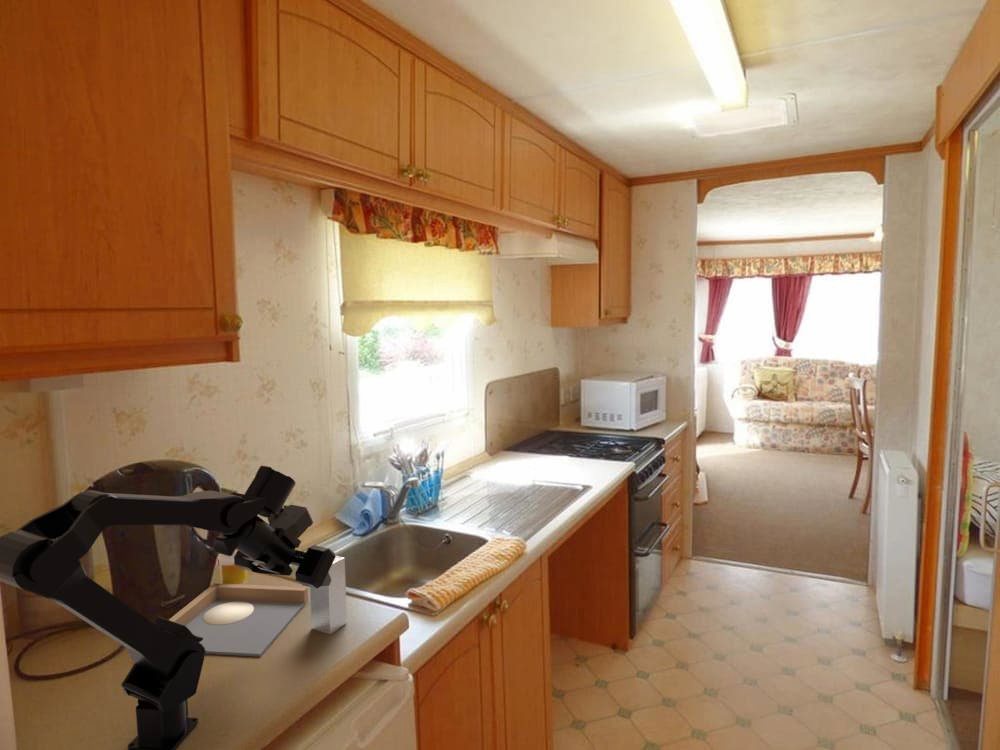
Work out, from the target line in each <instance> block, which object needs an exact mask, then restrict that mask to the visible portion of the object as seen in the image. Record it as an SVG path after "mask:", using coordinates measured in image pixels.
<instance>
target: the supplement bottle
mask: <svg viewBox="0 0 1000 750" xmlns="http://www.w3.org/2000/svg"><path fill="white" fill-rule="evenodd" d="M237 551H238V550H237V549H235V551H234V553H233V555H232V556H227V555H223V554H221V555H220V556H219V559H218V569H219V584H242V585H249V583H248V581H249V580H248V570H245V569H241V568H239V567H238V566H236V565H235V564H234V556H235V555H236V553H237Z"/></svg>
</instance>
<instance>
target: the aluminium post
mask: <svg viewBox="0 0 1000 750" xmlns="http://www.w3.org/2000/svg"><path fill="white" fill-rule="evenodd" d="M335 556H336V557H335V559H334V562H333V564H332V566H331V568H330V570H329V575H330V577H331V583H330V585H329V586H321V587H319V588H318V589H316V588H312V587H309V589H310V590H309V591H310V614H311V615H310V616H311V630H314V629H315V630H314V631H317V630H318V631H317V632H320V631H321V633H324V634H327V635H332V634H334V633H335V632H336V631H338V630H340V629H341V628H342V627H343V626H345V625H346V624H347V623H348V621H347V616H348V615H347V594H346V593H347V591H346V590H347V589H346V562H345V561H346V559H345V557H343V556H339V555H335ZM340 627H341V628H340Z"/></svg>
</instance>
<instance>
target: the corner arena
mask: <svg viewBox="0 0 1000 750" xmlns="http://www.w3.org/2000/svg"><path fill="white" fill-rule="evenodd" d="M308 593H309V591H308V586H284V585H282V586H281V585H264V584H263V585H261V584H248V585H242V584H220V582H219V583H217V582H216V583H213V584H211V585H210V586H209V587H208V588H207V589H205V590H204V591H202V593H200V594H199V595H198V596H196V597H195V598H194V599H193V600H191V601H190V602H189V603H188V604H187V605H186V606H184V607H183V608H182V609H180V610H179V611H178V612H177V613H175V614H174V615H173V616H172V617H170V618H169V619H168V620H170V621H173V622H176V623H179V624H181V625H184V626H186V627H187V628H188V629H189V630H190V631H191V633H192V634H193V635H196V636H199V637H202V638H203V640H202V641H201V642H199V643H201V644H202V645H203V646H204V648H205V650H206V652H205V654H204V655H221V656H222V655H223V656H239V657H240V656H241V657H260V658H261V657H262V656H263V655H264V654H265V653H266V651H267V650H268V649H269V648H270V647H271V645H272V644H273V643H274V642H275V641H276V639H277V638H278V637H279V636H280V635H281V633H282V632H283V631H284V630H285V629H286V628H287V627H288V625H289V624H290V623H291V622H292V621H293V620H294V618H295V617H296V616H297V614H299V613H300V612H301V610H302V609H303V608H304V607H303V606H306V605H307V603H308V602H307V601H309V596H308V595H309V594H308ZM306 602H307V603H306ZM302 607H303V608H302ZM301 608H302V609H301Z"/></svg>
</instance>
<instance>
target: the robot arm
mask: <svg viewBox="0 0 1000 750" xmlns="http://www.w3.org/2000/svg"><path fill="white" fill-rule="evenodd" d="M295 486H296V481H295V480H294V478H293V477H291V476H289V475H285V473H282V472H281V471H278V470H275V469H273V468H272V467H271V466H267V465H260V466H259V468H258V469H257V471H256V474H255V476H254V477H253V479H252V481H251V483H250V484H249V486H248V487H247V489H246V491H245V492H244V494H243V493H238V492H227V493H224V492H220V491H215V490H203V491H195V492H190V493H188V494H184V495H180V496H179V495H178V496H168V495H152V494H151V495H149V494H134V493H133V494H129V493H115V492H114V493H113V492H102V491H98V490H93V489H92V490H91V489H90V490H89V489H88V490H84V491H82V492H79V493H77V494H75V495H74V496H73V497H71V498H70V499H69V500H67V501H66V502H64V503H63V504H61V505H59V506H57V507H55V508H53V509H51V510H49V511H46V512H45V513H42V514H41V515H38V516H36V517H34V518H32V519H30V520H29V521H27V522H26V523H25V524H23V525H22V526H20V527H18V529H17V530H13V531H10V532H8V533H7V532H6V533H5V534H3V535H1V536H0V582H2V583H4V584H7V585H10V586H13V587H15V588H18V589H20V590H23V591H26V592H29V593H32V594H33V595H37V596H40V597H42V598H45V599H48V600H51V601H53V602H54V603H56V604H58V606H60V607H62V608H64V609H66V611H69V612H70V613H72V614H73V615H74V616H76V617H78V618H79V619H81V620H82V621H84V622H85V623H87V624H88V625H90V626H92V627H94V628H95V629H96V630H98V631H100V632H101V633H102V634H104V635H105V636H107V637H109V639H112V640H114V642H117V643H118V644H120V645H122V647H124V648H125V649H126V650H127V652H128V654H129V657H130V659H131V660H132V661H133V665H132V667H131V669H130V670H129V672H127V675H126V676H125V678H124V679H123V681H122V682H121V688H122V690H123V691H124V694H125V695H126V696H129V697H130V696H131V697H133V698H135V699H137V705H136V706H135V717H136V718H135V720H136V733H137V734H136V735H137V736H135V737H134V738H133V739H132V740H131V741H130V743H128V744H127V750H175V749H177V747H179V745H181V743H182V742H183V741H184V739H186V737H187V736H188V735H189V734H190V732H191V731H192V730H193V729H194V728H195V727H196V726H197V724H198V723H199V718H198V717H189V703H188V700H189V699H190V698H191V697H193V696H195V695H196V694H197V690H198V686H199V682H200V677H201V673H202V669H203V664H204V661H205V655H206V654H205V652H206V650H205V648H204V646H203V645H202V644H201V643H199V642H201V641H202V640H203V638H202V637H199V636H196V635H193V634H192V633H191V631H190V630H189V629H188V628H187V627H186V626H184V625H181V624H179V623H176V622H173V621H170V620H169V619H167V618H164V617H162V616H157V618H156V619H155V621H154V623H153V622H152V621H151V620H149V619H148V618H146V616H144V615H142V614H141V613H140V612H139V611H137V610H135V609H134V608H132V606H129V605H128V604H127V603H125V602H124V601H122V600H121V599H120V598H118V597H117V596H116V595H114V594H112V593H111V592H110V591H108V590H107V589H106V588H104V587H103V586H101V585H100V584H98V582H96V581H95V580H93V579H92V578H90V577H89V575H88V574H87V573H86V570H85V568H84V566H83V563H82V561H81V560H80V559H82V558H83V557H84V556H85V555H87V553H89V551H90V550H91V548H92V547H93V545H94V544H95V542H96V540H97V539H98V538H99V536H100V535H101V534H102V532H103V531H105V529H107V528H108V527H109V526H187V527H190V528H191V527H192V528H196V529H201V530H204V531H209V532H215V533H218V534H220V535H218V536H215V538H214V541H215V542H214V545H213V552H214V553H217V554H220V555H227V556H232V555H233V553H234V551H235V549H237V550H238V551H237V553H236V555H235V556H234V564H235V565H236V566H238V567H239V568H241V569H245V570H247V572H252V573H256V574H263V575H274V576H275V575H276V576H287V577H288V576H289V577H290V576H291V575H292V573H293V568H292V567H291V566H290V565H293V566H297V569H296V571H295V581H296V582H297V583H299V584H301V585H302V586H303V587H307V588H308V587H309V588H310V587H312V588H316V589H318V588H319V587H321V586H329V585H330V583H331V577H330V575H329V570H330V568H331V566H332V564H333V562H334V559H335V557H336V556H337V555H336V553H335V552H334V551H332V550H331V549H330V548H327V547H324V546H319V545H315V544H314V545H312V546H309V547H308V548H307V549H306V551H302V550H297V549H298V548H299V547H300V545H301V543H302V540H300V539H299V538H300V537H301V536H302V535H303V534H304V533H305V532H306V531H307V530H308V528H310V527H312V526H313V524H314V521H313V519H312V516H311V514H310V512H309V510H308V507H305V506H301V505H296V504H289V505H288V504H287V505H286V504H285V503H287V502H286V501H287V500H288V498H289V497H290V494H291V493H292V491H293V489H294V487H295ZM260 516H261V517H260ZM262 517H263V518H267V521H265V520H263V518H262Z"/></svg>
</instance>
